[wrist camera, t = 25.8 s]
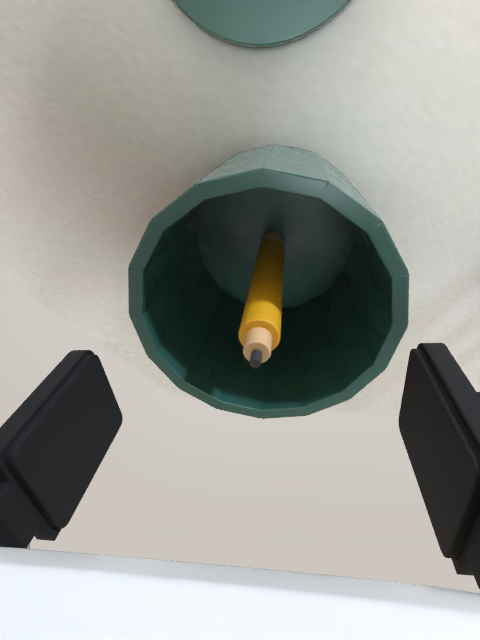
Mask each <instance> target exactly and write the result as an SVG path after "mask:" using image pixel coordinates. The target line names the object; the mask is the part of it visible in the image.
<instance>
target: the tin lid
mask: <svg viewBox="0 0 480 640" xmlns="http://www.w3.org/2000/svg"><path fill="white" fill-rule="evenodd" d="M173 1H174V2H175V3H176V4H177V6H178V7H179V8H180V9H181V10H182V11H183V12H184V13H185V14H186V15H187V16H188V17H189V18H190V19H192V20H193V21H194V22H195V23H196V24H197V25H198V26H200V27H201V28H203V29H204V30H206V31H207V32H209V33H210V34H212V35H214V36H216V37H218V38H220V39H222V40H225V41H227V42H230V43H234V44H237V45H241V46H249V47H272V46H277V45H281V44H286V43H290V42H292V41H295V40H297V39H300V38H302V37H305V36H306V35H308V34H310V33H312V32H313V31H315V30H317V29H319V28H320V27H322V26H323V25H324V24H326V23H327V22H328V21H329V20H331V19H332V18H333V17H335V16H336V15H337V14H338V13H339V12H340V11H341V10H342V9H343V8H344V7H345V6H346V5H347V4H348V3H349V2H350V1H351V0H173Z"/></svg>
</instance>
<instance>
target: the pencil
mask: <svg viewBox="0 0 480 640" xmlns="http://www.w3.org/2000/svg"><path fill="white" fill-rule="evenodd" d="M284 260H285V238H284V237H283V235H282V234H281V233H279V232H277V231H270V232H267V233H266V234H265V235H264V236H263V237H262V239H261V242H260V246H259V251H258V255H257V259H256V264H255V268H254V272H253V276H252V280H251V284H250V288H249V292H248V296H247V300H246V304H245V308H244V312H243V317H242V321H241V325H240V329H239V334H238V335H239V340H240V342H241V344H242V345H243V347H244V348H243V354H244V356H245V358H246V359H247V360H248V361H250V362H249V363H250V365H251V366H252V367H254V368H258V367H259V366H260V365H261V363H264V362H266V361H267V360H268V359H269V358H270V356H271V351H272V350H274V349H275V348H276V347H277V345H278V344H279V342H280V335H281V317H282V298H283V279H284Z"/></svg>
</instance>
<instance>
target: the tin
mask: <svg viewBox="0 0 480 640" xmlns="http://www.w3.org/2000/svg"><path fill="white" fill-rule="evenodd" d="M270 231H277V232H279V233H281V234H282V235H283V237H284V238H285V260H284V279H283V298H282V317H281V335H280V342H279V344H278V345H277V347H276V348H275V349H274V350H272V351H271V356H270V358H269V359H268V360H267V361H266V362H264V363H261V365H260V366H259V367H258V368H254V367H252V366H251V365H250V363H249V362H250V361H248V360H247V359H246V358H245V356H244V354H243V348H244V347H243V345H242V344H241V342H240V340H239V335H238V334H239V329H240V325H241V321H242V317H243V312H244V308H245V304H246V300H247V296H248V292H249V288H250V284H251V280H252V276H253V272H254V268H255V264H256V259H257V255H258V251H259V246H260V242H261V239H262V237H263V236H264V235H265V234H266V233H267V232H270ZM128 275H129V314H130V318H131V320H132V322H133V325H134V327H135V329H136V332H137V334H138V336H139V338H140V341H141V343H142V345H143V347H144V350H145V352H146V354H147V355H148V357H149V358H150V359H151V360H152V361H153V362H154V363H155V364H156V365H157V366H158V367H159V369H160V370H161V371H162V372H163V373H164V374H165V375H166V376H167V377H168V378H169V379H170V380H171V381H172V382H173V383H174V384H175V385H176V386H177V387H178V388H179V389H181V390H183V391H185V392H187V393H188V394H190V395H192V396H194V397H196V398H198V399H199V400H201V401H203V402H205V403H207V404H209V405H210V406H212V407H214V408H216V409H217V408H218V409H220V410H224V411H229V412H233V413H238V414H243V415H247V416H252V417H256V418H263V419H264V418H279V417H295V416H306V415H310V414H312V413H315V412H318V411H320V410H323V409H326V408H328V407H331V406H333V405H336V404H339V403H341V402H344V401H347V400H349V399H351V398H352V397H353V396H354V395H355V394H357V393H358V392H359V391H360V390H361V389H363V388H364V387H365V386H366V385H367V384H369V383H370V382H371V381H372V380H373V379H375V378H376V377H377V376H378V375H379V374H380V373H382V372H383V371H384V370H385V368H387V366H388V364H389V362H390V360H391V358H392V356H393V354H394V352H395V350H396V348H397V346H398V344H399V342H400V340H401V338H402V336H403V334H404V333H405V331H406V329H407V325H408V306H409V273H408V270H407V268H406V266H405V264H404V262H403V260H402V258H401V256H400V254H399V252H398V250H397V248H396V246H395V244H394V242H393V240H392V238H391V236H390V234H389V232H388V230H387V228H386V226H385V224H384V223H383V221H382V220H381V219H380V217H379V216H378V215H377V214H376V213H375V211H374V210H373V209H372V208H371V207H370V205H369V204H368V203H367V202H366V201H365V200H364V198H363V197H362V196H361V195H360V194H359V192H358V191H357V190H356V189H355V188H354V186H353V185H352V184H351V183H350V182H349V181H348V179H347V178H346V177H345V176H344V175H343V174H342V173H341V172H339V171H338V170H337V169H335V168H334V167H333V166H331V165H330V164H329V163H328V162H326V161H325V160H323V159H322V158H321V157H319V156H318V155H317V154H315V153H314V152H311V151H306V150H301V149H298V148H294V147H286V146H280V145H270V146H266V147H261V148H256V149H253V150H250V151H246V152H242V153H238V154H236V155H235V156H233V157H232V158H230V159H229V160H228V161H226V162H225V163H224V164H222V165H221V166H219V167H218V168H217V169H215V170H214V171H212V172H211V173H210V174H208V175H207V176H206V177H204V178H203V179H201V180H200V181H199V182H197V183H196V184H195V185H193V186H192V187H191V188H190V189H188V190H187V191H186V192H185V193H183V194H182V195H181V196H179V197H178V198H177V199H176V200H174V201H173V202H172V203H171V204H169V205H168V206H167V207H166V208H164V209H163V210H162V211H161V212H159V213H158V214H157V215H156V216H154V217H153V218H152V219H151V221H150V222H149V224H148V226H147V228H146V230H145V232H144V234H143V237H142V239H141V241H140V243H139V245H138V247H137V249H136V251H135V254H134V256H133V258H132V260H131V262H130V264H129V268H128Z"/></svg>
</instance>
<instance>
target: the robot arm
mask: <svg viewBox="0 0 480 640" xmlns="http://www.w3.org/2000/svg"><path fill="white" fill-rule="evenodd" d="M121 424H122V414H121V411H120V408H119V406H118V403H117V401H116V399H115V396H114V394H113V391H112V389H111V386H110V384H109V381H108V379H107V376H106V374H105V371H104V369H103V366H102V364H101V362H100V359H99V357H98V356H97V355H94V353H93V352H92V351H90V350H74V351H71V352H69V353H68V354H67V355H66V356H65V358H64V359H63V360H62V361H61V362H60V363H59V364H58V365H57V366H56V367H55V369H54V370H53V371H52V372H51V373H50V374H49V375H48V376H47V377H46V378H45V379H44V380H43V382H42V383H41V384H40V385H39V386H38V387H37V388H36V389H35V390H34V391H33V392H32V394H31V395H30V396H29V397H28V398H27V399H26V400H25V401H24V402H23V403H22V405H21V406H20V407H19V408H18V409H17V410H16V411H15V412H14V413H13V414H12V415H11V417H10V418H9V419H8V420H7V421H6V422H5V423H4V424H3V425H2V426H1V428H0V640H480V594H478V593H472V592H466V591H459V590H453V589H446V588H441V587H434V586H425V585H416V584H407V583H398V582H390V581H381V580H371V579H362V578H354V577H353V578H352V577H343V576H331V575H321V574H311V573H300V572H290V571H278V570H268V569H257V568H247V567H236V566H225V565H213V564H202V563H190V562H180V561H168V560H157V559H145V558H133V557H122V556H111V555H98V554H86V553H73V552H62V551H49V550H38V549H30V542H31V540H32V539H33V537H34V536H35V537H36V538H37V539H40V540H52V541H55V539H56V537H57V536H58V533H59V532H60V530H61V528H64V527H65V526H66V525H67V524H68V523H69V521H70V519H71V517H72V515H73V513H74V512H75V510H76V508H77V506H78V504H79V502H80V501H81V499H82V497H83V495H84V493H85V491H86V489H87V488H88V486H89V484H90V482H91V480H92V478H93V476H94V474H95V473H96V471H97V469H98V467H99V465H100V463H101V461H102V460H103V458H104V456H105V454H106V452H107V450H108V449H109V447H110V445H111V443H112V441H113V439H114V437H115V436H116V434H117V432H118V430H119V428H120V426H121ZM399 428H400V432H401V435H402V438H403V441H404V444H405V447H406V450H407V453H408V456H409V459H410V461H411V464H412V467H413V470H414V473H415V476H416V479H417V482H418V485H419V488H420V491H421V494H422V497H423V499H424V502H425V505H426V508H427V511H428V514H429V517H430V520H431V523H432V526H433V529H434V532H435V535H436V537H437V540H438V543H439V546H440V549H441V551H442V553H443V555H444V556H445V557H446V558H452V561H453V564H454V567H455V570H456V572H457V574H462V575H474V577H475V580H476V582H477V585H478V587H479V588H480V392H476V391H475V389H474V388H473V386H472V385H471V383H470V382H469V380H468V379H467V377H466V376H465V374H464V373H463V371H462V370H461V368H460V366H459V365H458V363H457V362H456V360H455V359H454V357H453V356H452V354H451V353H450V351H449V350H448V348H447V347H446V345H445V344H443V343H420V344H419V345H418V347H417V349H411V351H410V356H409V361H408V367H407V373H406V379H405V385H404V391H403V396H402V402H401V408H400V414H399Z"/></svg>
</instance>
